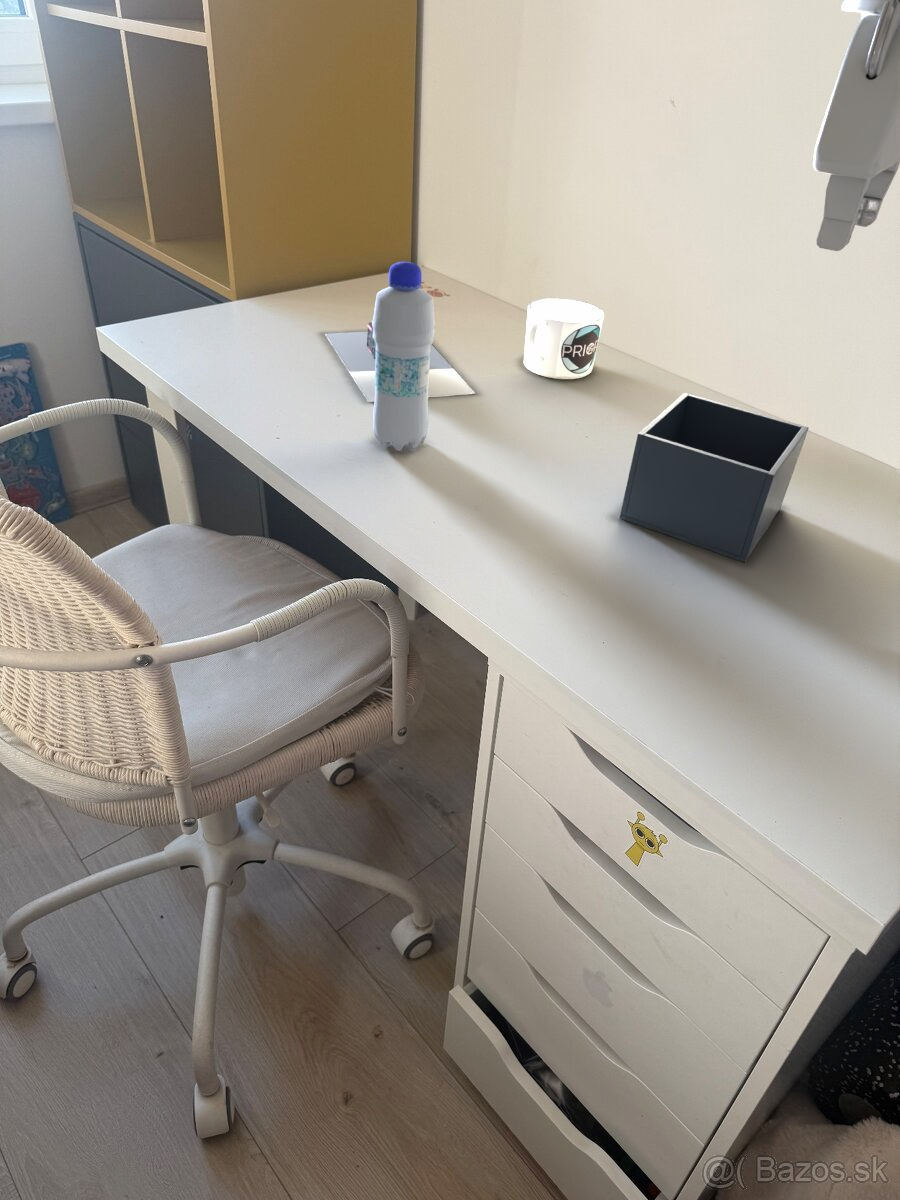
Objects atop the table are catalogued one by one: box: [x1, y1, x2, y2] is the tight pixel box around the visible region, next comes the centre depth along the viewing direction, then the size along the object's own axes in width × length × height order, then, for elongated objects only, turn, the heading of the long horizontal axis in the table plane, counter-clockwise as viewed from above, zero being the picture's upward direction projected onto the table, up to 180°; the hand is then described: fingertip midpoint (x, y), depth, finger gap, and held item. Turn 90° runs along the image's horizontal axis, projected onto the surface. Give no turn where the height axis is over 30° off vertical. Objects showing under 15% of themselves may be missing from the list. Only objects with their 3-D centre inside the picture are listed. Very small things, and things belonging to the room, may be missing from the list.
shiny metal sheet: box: [324, 321, 476, 403], centre depth 115 cm, size 14×25×4 cm, turn 19°
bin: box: [619, 392, 810, 563], centre depth 84 cm, size 13×13×10 cm
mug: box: [523, 297, 605, 380], centre depth 115 cm, size 13×10×8 cm
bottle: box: [371, 261, 436, 452], centre depth 90 cm, size 7×7×20 cm
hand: (845, 235), depth 56 cm, fingers open, 8 cm apart
